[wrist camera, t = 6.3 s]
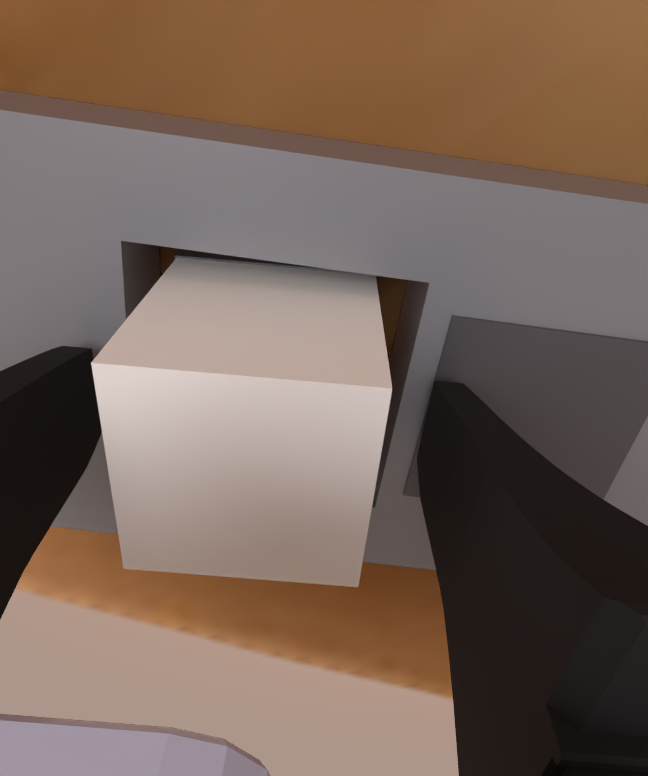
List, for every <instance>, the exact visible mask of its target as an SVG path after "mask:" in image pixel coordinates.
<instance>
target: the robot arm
mask: <svg viewBox="0 0 648 776" xmlns="http://www.w3.org/2000/svg"><path fill="white" fill-rule="evenodd" d="M92 361H93V353H92V348H82V347H71V346H60V347H57V348H54V349H51V350H48V351H45V352H43V353H40V354H38V355H36V356H33V357H31V358H29V359H26V360H24V361H22V362H20V363H17V364H15V365H13V366H11V367H8V368H6V369H4V370H1V371H0V619H1V617H2V614H3V612H4V610H5V608H6V606H7V604H8V602H9V600H10V598H11V596H12V594H13V592H14V590H15V588H16V585H17V583H18V581H19V579H20V577H21V575H22V573H23V571H24V569H25V568H26V566H27V564H28V562H29V561H30V559H31V557H32V555H33V553H34V552H35V550H36V549H37V547H38V545H39V544H40V542H41V541H42V539H43V537H44V536H45V534H46V533H47V531H48V529H49V528H50V526H51V525H52V523H53V521H54V520H55V518H56V517H57V515H58V513H59V512H60V510H61V509H62V507H63V506H64V504H65V502H66V501H67V499H68V498H69V496H70V494H71V493H72V491H73V489H74V488H75V486H76V485H77V483H78V481H79V480H80V478H81V476H82V475H83V473H84V471H85V470H86V468H87V466H88V464H89V462H90V459H91V457H92V455H93V453H94V450H95V448H96V446H97V443H98V441H99V438H100V436H101V433H102V429H101V422H100V416H99V410H98V404H97V397H96V391H95V385H94V378H93V372H92V366H91V362H92ZM417 467H418V481H419V492H420V500H421V504H422V509H423V514H424V518H425V523H426V527H427V532H428V536H429V541H430V545H431V550H432V554H433V558H434V563H435V567H436V572H437V576H438V581H439V585H440V590H441V596H442V602H443V607H444V616H445V624H446V633H447V642H448V651H449V661H450V671H451V682H452V692H453V702H454V715H455V728H456V741H457V753H458V768H459V776H648V526H647V525H645V524H644V523H642V522H640V521H638V520H637V519H635V518H633V517H632V516H630V515H628V514H626V513H625V512H623V511H621V510H619V509H618V508H616V507H614V506H613V505H611V504H610V503H608V502H606V501H605V500H603V499H602V498H600V497H599V496H597V495H596V494H594V493H593V492H591V491H590V490H588V489H587V488H585V487H584V486H583V485H581V484H580V483H578V482H577V481H575V480H574V479H572V478H571V477H569V476H568V475H567V474H565V473H564V472H563V471H561V470H560V469H559V468H557V467H556V466H555V465H554V464H552V463H551V462H550V461H549V460H547V459H546V458H545V457H544V456H543V455H541V454H540V453H539V452H538V451H536V450H535V449H534V448H533V447H532V446H530V445H529V444H528V443H527V442H526V441H525V440H524V439H522V438H521V437H520V436H519V435H518V434H517V433H516V432H515V431H513V430H512V429H511V428H510V427H509V426H508V425H507V424H506V423H505V422H504V421H503V420H502V419H501V418H500V417H498V416H497V415H496V414H495V413H494V412H493V411H492V410H491V409H490V408H489V407H488V406H487V405H486V404H485V403H484V402H483V401H482V400H481V399H480V398H479V397H478V396H477V395H476V394H475V393H473V392H472V391H471V390H470V389H469V388H468V387H467V386H466V385H464V384H463V383H455V382H444V381H434V383H433V388H432V392H431V397H430V401H429V405H428V410H427V414H426V419H425V423H424V427H423V432H422V436H421V441H420V445H419V450H418V454H417ZM0 776H270V774H269V772H268V770H267V769H266V768H265V766H264V765H263V764H262V763H261V762H260V760H258V759H257V758H255V757H253V756H252V755H250V754H248V753H247V752H245V751H243V750H241V749H240V748H238V747H237V746H235V745H233V744H231V743H230V742H228V741H226V740H225V739H222V738H218V737H213V736H209V735H204V734H199V733H194V732H190V731H186V730H181V729H177V728H171V727H159V726H146V725H133V724H121V723H108V722H96V721H83V720H71V719H57V718H45V717H32V716H20V715H7V714H0Z"/></svg>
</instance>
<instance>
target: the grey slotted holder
mask: <svg viewBox="0 0 648 776" xmlns="http://www.w3.org/2000/svg"><path fill="white" fill-rule="evenodd" d="M159 246H163V247H171V248H178V249H185V250H193V251H200V252H207V253H215V254H222V255H229V256H237V257H244V258H251V259H259V260H266V261H273V262H280V263H288V264H295V265H302V266H310V267H317V268H324V269H332V270H339V271H346V272H354V273H361V274H368V275H375V276H383V277H390V278H397V279H405V280H407V285H406V289H405V294H404V299H403V303H402V308H401V312H400V317H399V321H398V326H397V330H396V335H395V339H394V344H393V349H392V353H391V358H390V362H389V369H390V375H391V382H392V394H391V400H390V406H389V411H388V417H387V423H386V429H385V435H384V440H383V446H382V452H381V458H380V464H379V469H378V475H377V481H376V487H375V493H374V498H373V504H372V510H371V516H370V521H369V527H368V533H367V539H366V545H365V550H364V556H363V562H368V563H377V564H386V565H395V566H403V567H412V568H421V569H429V570H436V567H435V563H434V558H433V554H432V550H431V545H430V541H429V536H428V532H427V527H426V523H425V518H424V514H423V509H422V504H421V500H420V492H419V481H418V467H417V454H418V450H419V445H420V441H421V436H422V432H423V427H424V423H425V419H426V414H427V410H428V405H429V401H430V397H431V392H432V388H433V383H434V381H444V382H455V383H463V384H464V385H466V386H467V387H468V388H469V389H470V390H471V391H472V392H473V393H475V394H476V395H477V396H478V397H479V398H480V399H481V400H482V401H483V402H484V403H485V404H486V405H487V406H488V407H489V408H490V409H491V410H492V411H493V412H494V413H495V414H496V415H497V416H498V417H500V418H501V419H502V420H503V421H504V422H505V423H506V424H507V425H508V426H509V427H510V428H511V429H512V430H513V431H515V432H516V433H517V434H518V435H519V436H520V437H521V438H522V439H524V440H525V441H526V442H527V443H528V444H529V445H530V446H532V447H533V448H534V449H535V450H536V451H538V452H539V453H540V454H541V455H543V456H544V457H545V458H546V459H547V460H549V461H550V462H551V463H552V464H554V465H555V466H556V467H557V468H559V469H560V470H561V471H563V472H564V473H565V474H567V475H568V476H569V477H571V478H572V479H574V480H575V481H577V482H578V483H580V484H581V485H583V486H584V487H585V488H587V489H588V490H590V491H591V492H593V493H594V494H596V495H597V496H599V497H600V498H602V499H603V500H605V501H606V502H608V503H610V504H611V505H613V506H614V507H616V508H618V509H619V510H621V511H623V512H625V513H626V514H628V515H630V516H632V517H633V518H635V519H637V520H638V521H640V522H642V523H644V524H645V525H647V526H648V185H642V184H635V183H629V182H622V181H615V180H608V179H601V178H595V177H588V176H581V175H574V174H567V173H560V172H554V171H547V170H540V169H533V168H526V167H520V166H513V165H506V164H499V163H492V162H486V161H479V160H472V159H465V158H458V157H452V156H445V155H438V154H431V153H424V152H417V151H411V150H404V149H397V148H390V147H383V146H377V145H370V144H363V143H356V142H349V141H343V140H336V139H329V138H322V137H315V136H309V135H302V134H295V133H288V132H281V131H274V130H268V129H261V128H254V127H247V126H240V125H234V124H227V123H220V122H213V121H206V120H200V119H193V118H186V117H179V116H172V115H166V114H159V113H152V112H145V111H138V110H131V109H125V108H118V107H111V106H104V105H97V104H91V103H84V102H77V101H70V100H63V99H57V98H50V97H43V96H36V95H29V94H23V93H16V92H9V91H2V90H0V371H1V370H4V369H6V368H8V367H11V366H13V365H15V364H17V363H20V362H22V361H24V360H26V359H29V358H31V357H33V356H36V355H38V354H40V353H43V352H45V351H48V350H51V349H54V348H57V347H60V346H71V347H82V348H92V353H93V360H94V359H95V357H96V356H97V355H98V354H99V352H100V351H101V350H102V349H103V347H104V346H105V345H106V344H107V343H108V341H109V340H110V339H111V338H112V336H113V335H114V334H115V333H116V331H117V330H118V329H119V328H120V327H121V325H122V324H123V323H124V322H125V320H126V319H127V318H128V317H129V315H130V314H131V313H132V312H133V311H134V309H135V308H136V307H137V306H138V304H139V303H140V302H141V301H142V299H143V298H144V297H145V296H146V295H147V293H148V292H149V291H150V290H151V288H152V287H153V286H154V285H155V283H156V282H157V281H158V280H159V279H160V250H159ZM51 526H54V527H63V528H71V529H80V530H89V531H98V532H106V533H115V534H118V530H117V523H116V517H115V511H114V505H113V498H112V492H111V486H110V479H109V473H108V467H107V460H106V454H105V448H104V441H103V435H102V433H101V436H100V438H99V441H98V443H97V446H96V448H95V450H94V453H93V455H92V457H91V459H90V462H89V464H88V466H87V468H86V470H85V471H84V473H83V475H82V476H81V478H80V480H79V481H78V483H77V485H76V486H75V488H74V489H73V491H72V493H71V494H70V496H69V498H68V499H67V501H66V502H65V504H64V506H63V507H62V509H61V510H60V512H59V513H58V515H57V517H56V518H55V520H54V521H53V523H52V525H51Z"/></svg>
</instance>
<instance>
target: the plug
mask: <svg viewBox="0 0 648 776" xmlns="http://www.w3.org/2000/svg"><path fill="white" fill-rule="evenodd" d="M377 278H378V276H375V275H368V274H361V273H354V272H346V271H339V270H332V269H324V268H317V267H310V266H302V265H295V264H288V263H280V262H273V261H266V260H259V259H251V258H244V257H237V256H229V255H222V254H215V253H207V252H200V251H193V250H185V249H179V250H178V251H177V252H176V253H175V255H174V261H173V263H172V264H171V265H170V266H169V267H168V269H167V270H166V271H165V272H164V274H163V275H162V276H161V277H160V279H159V280H158V281H157V282H156V283H155V285H154V286H153V287H152V288H151V290H150V291H149V292H148V293H147V295H146V296H145V297H144V298H143V299H142V301H141V302H140V303H139V304H138V306H137V307H136V308H135V309H134V311H133V312H132V313H131V314H130V315H129V317H128V318H127V319H126V320H125V322H124V323H123V324H122V325H121V327H120V328H119V329H118V330H117V331H116V333H115V334H114V335H113V336H112V338H111V339H110V340H109V341H108V343H107V344H106V345H105V346H104V347H103V349H102V350H101V351H100V352H99V354H98V355H97V356H96V357H95V359H94V360H93V361H92V362H91V366H92V372H93V378H94V385H95V391H96V397H97V404H98V410H99V416H100V422H101V429H102V435H103V441H104V448H105V454H106V460H107V467H108V473H109V479H110V486H111V492H112V498H113V505H114V511H115V517H116V523H117V530H118V536H119V542H120V549H121V555H122V561H123V568H124V569H133V570H146V571H159V572H172V573H184V574H197V575H210V576H222V577H235V578H248V579H260V580H273V581H286V582H299V583H311V584H324V585H337V586H349V587H358V585H359V579H360V574H361V568H362V562H363V556H364V550H365V545H366V539H367V533H368V527H369V521H370V516H371V510H372V504H373V498H374V493H375V487H376V481H377V475H378V469H379V464H380V458H381V452H382V446H383V440H384V435H385V429H386V423H387V417H388V411H389V406H390V400H391V394H392V382H391V375H390V369H389V362H388V355H387V349H386V342H385V335H384V328H383V322H382V315H381V308H380V302H379V295H378V288H377Z"/></svg>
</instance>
